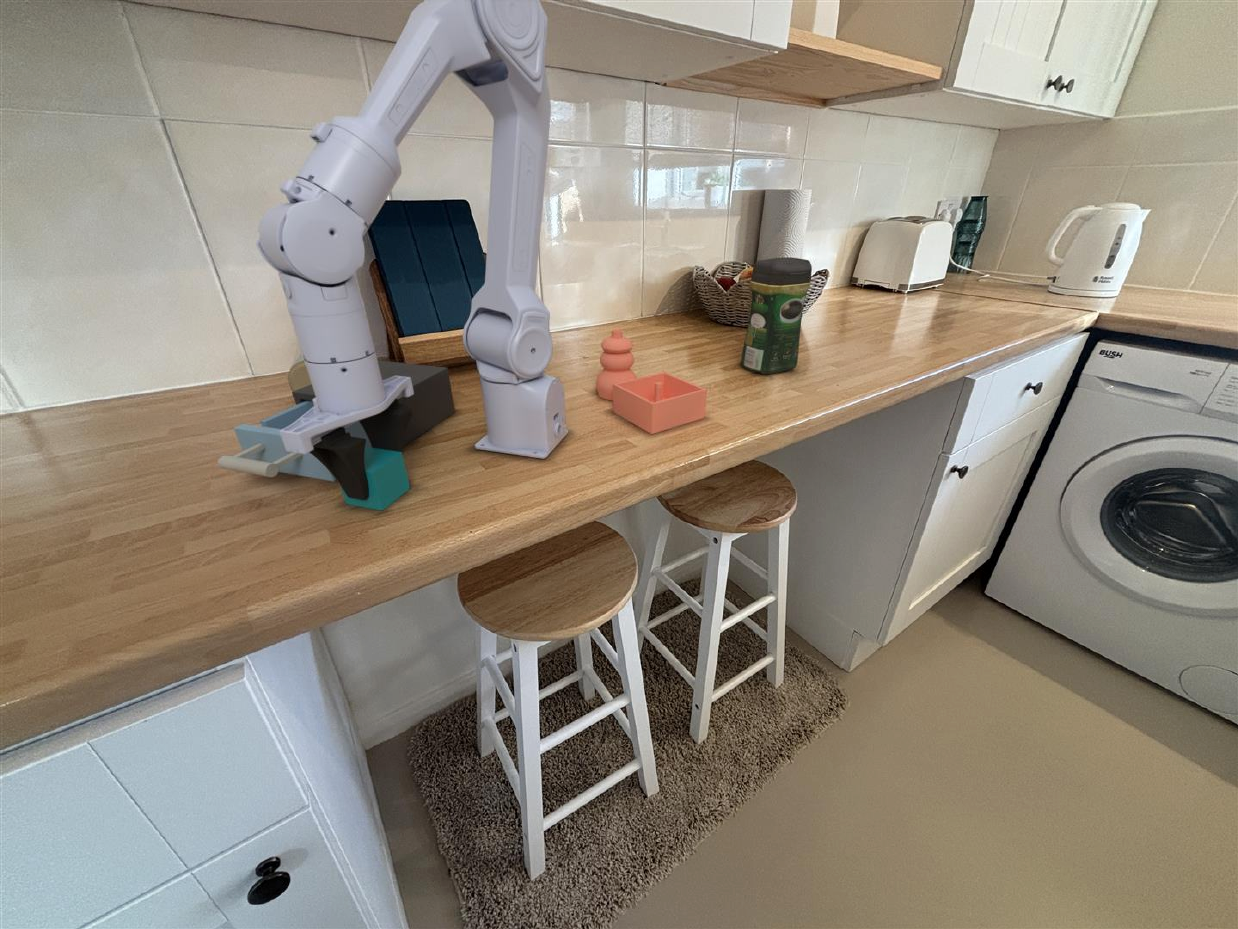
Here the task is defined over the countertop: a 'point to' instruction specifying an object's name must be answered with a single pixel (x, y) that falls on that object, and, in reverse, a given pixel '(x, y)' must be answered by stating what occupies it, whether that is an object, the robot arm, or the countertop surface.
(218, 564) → the countertop surface
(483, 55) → the robot arm
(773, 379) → the countertop surface
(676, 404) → the pink peg stacking toy
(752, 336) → the coffee jar
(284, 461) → the drawer
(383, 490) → the teal toy cube
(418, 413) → the dark grey drawer cabinet
